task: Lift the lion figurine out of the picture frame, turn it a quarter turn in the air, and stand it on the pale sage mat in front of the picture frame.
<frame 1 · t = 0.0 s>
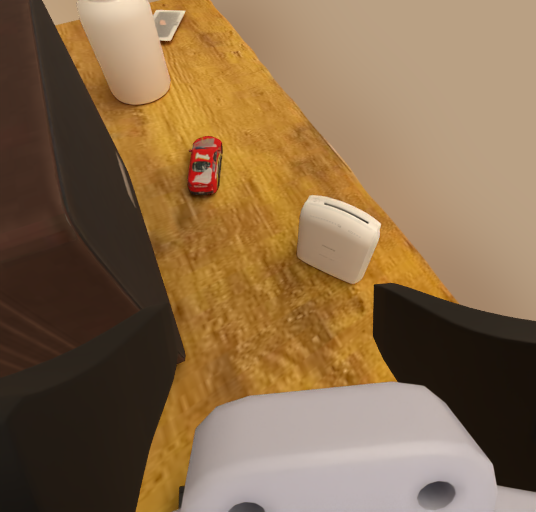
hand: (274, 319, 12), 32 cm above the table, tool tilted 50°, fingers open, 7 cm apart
photo printer: (329, 263, 51), on the table
race car: (207, 170, 61), on the table
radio: (96, 277, 50), on the table
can: (142, 89, 74), on the table
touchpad: (164, 30, 87), on the table
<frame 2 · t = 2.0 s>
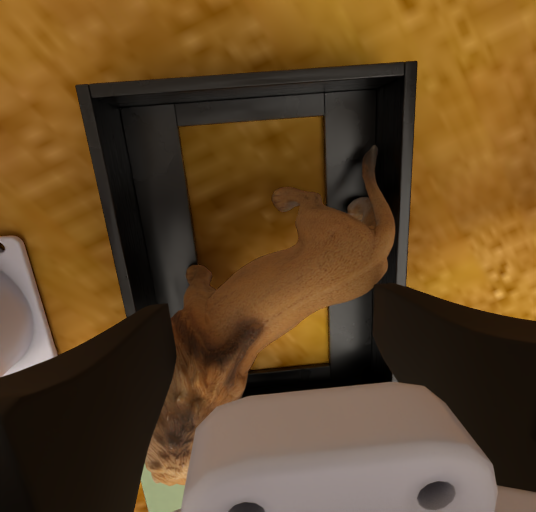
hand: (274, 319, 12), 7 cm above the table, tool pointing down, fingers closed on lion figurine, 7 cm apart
lion figurine: (262, 259, 19), resting in picture frame, touching gripper
sage mat: (279, 457, 23), on the table
picture frame: (262, 259, 19), on the table
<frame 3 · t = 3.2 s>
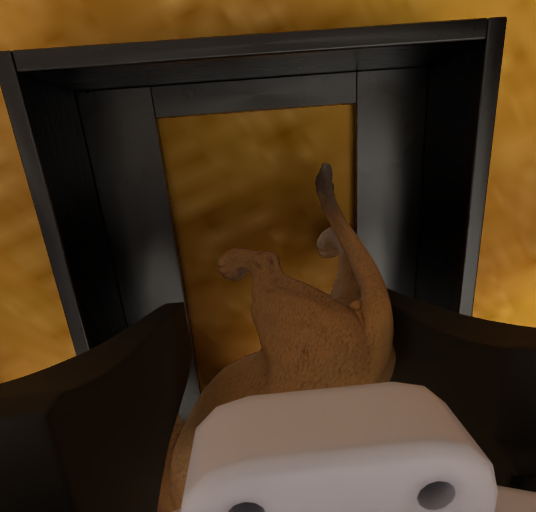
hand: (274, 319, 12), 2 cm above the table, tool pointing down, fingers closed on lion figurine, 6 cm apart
lion figurine: (235, 334, 15), resting in picture frame, touching gripper
picture frame: (270, 292, 14), on the table
when the fingers open (3 cm above the table, at t = 10.3 s): lion figurine stays where it is, resting on sage mat.
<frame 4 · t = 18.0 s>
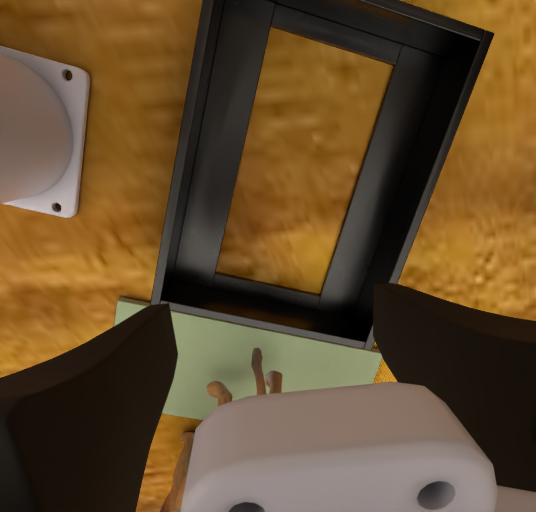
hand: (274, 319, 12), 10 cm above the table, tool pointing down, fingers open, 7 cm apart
lion figurine: (228, 415, 24), point 1 cm above the table, touching sage mat
sage mat: (243, 373, 24), on the table
picture frame: (297, 176, 20), on the table
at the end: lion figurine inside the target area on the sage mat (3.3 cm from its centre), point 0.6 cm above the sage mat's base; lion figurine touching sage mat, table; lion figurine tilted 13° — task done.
